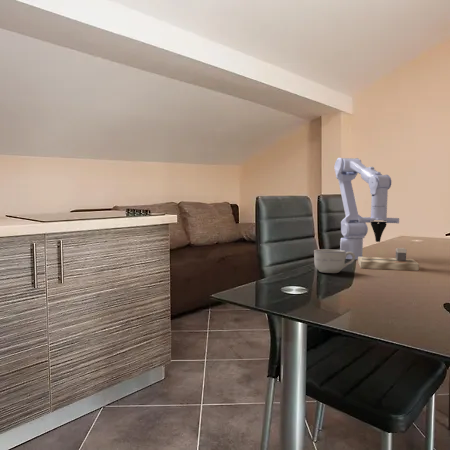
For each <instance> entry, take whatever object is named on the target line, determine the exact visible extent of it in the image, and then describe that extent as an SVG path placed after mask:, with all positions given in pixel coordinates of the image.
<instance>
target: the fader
mask: <svg viewBox="0 0 450 450" xmlns="http://www.w3.org/2000/svg"><path fill="white" fill-rule="evenodd" d="M395 258H396V260H398V261H406V258H407V249H406V248H405V247H396V248H395Z"/></svg>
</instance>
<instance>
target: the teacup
mask: <svg viewBox="0 0 450 450" xmlns="http://www.w3.org/2000/svg"><path fill="white" fill-rule="evenodd" d="M313 253H314V254H313V256H314V257H313V261H314V267H315V269H316V270H318V271H319V272H320V273H325V274H337V273H340V272H341V271H342V270H343V269H345V268H347V267H348V266H350V265H351V264H353V263H354V262H355V260H356V259H355V255H354V253H352V252H346V253H345V251H344V250H340V249H331V248H330V249H328V248H327V249H326V248H325V249H324V248H322V249H313ZM348 254H350V255H352V259H350V260H349V261H347V262H345V261H346V260H347V259H346V256H347V255H348Z"/></svg>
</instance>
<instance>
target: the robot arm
mask: <svg viewBox="0 0 450 450" xmlns="http://www.w3.org/2000/svg"><path fill="white" fill-rule="evenodd" d="M333 168H334V173H335V178H336V179H337V180H338V185H339V191H340V194H341V200H342V205H343V209H344V214H345V215H344V216H345V217H344V218H342V220H341V221H340V232H341V235H342V236H343V237H341V238H340V241H339V245H340V247H339V250H344V251H345V253H346V252H352V253H354V255H355V260H357V261H358V257H364V256H363V251H364V250H363V249H364V248H363V247H364V245H363V243H364V239H365V238H366V236H367V234H368V231H369V227H368V225H367V223H368V224H369V223H370V226H371V228H372V231H373V233H374V238H375V243H376V242H377V243H380V242H381V238H382V235H383V233H384V230H385V229H386V227H387V224H400V218H398V217H387V216H388V197H389V195H388V194H389V193H388V192H389V189H390V188H391V187H392V178H391V177H390V175H389V174H382V173H381V171H378V170H376V169H375V167H374V166H368V167H367V165H365V164H363V162H362V160H361V159H360V158H358V157H357V158H352V157H351V158H349V157H337V159H336V160H335V163H334V166H333ZM358 174H359V175H360V177H361V179H362V181H364V182H366V183H367V184H368V187H369V193H370V195H371V206H370V217H367V216H366V217H363V216H362V215H360V214H359V211H358V207H357V202H356V199H355V194H354V189H353V184H352V181H353V180H355V179H356V177H357V176H358ZM351 259H352V255H350V254H348V255H347V256H346V259H345V260H351Z"/></svg>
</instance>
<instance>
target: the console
mask: <svg viewBox="0 0 450 450" xmlns="http://www.w3.org/2000/svg"><path fill="white" fill-rule="evenodd" d="M357 263H358V265H359V268H360V269H369V270H370V269H371V270H372V269H373V270H374V269H375V270H396V271H420V270H419V269H420V268H419V267H420V263H418V262H417V261H416V260H415V259H413V258H407V257H406V261H398V260H396V257H380V256H379V257H378V256H377V257H376V256H373V257H372V256H363V257H358V260H357Z"/></svg>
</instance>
